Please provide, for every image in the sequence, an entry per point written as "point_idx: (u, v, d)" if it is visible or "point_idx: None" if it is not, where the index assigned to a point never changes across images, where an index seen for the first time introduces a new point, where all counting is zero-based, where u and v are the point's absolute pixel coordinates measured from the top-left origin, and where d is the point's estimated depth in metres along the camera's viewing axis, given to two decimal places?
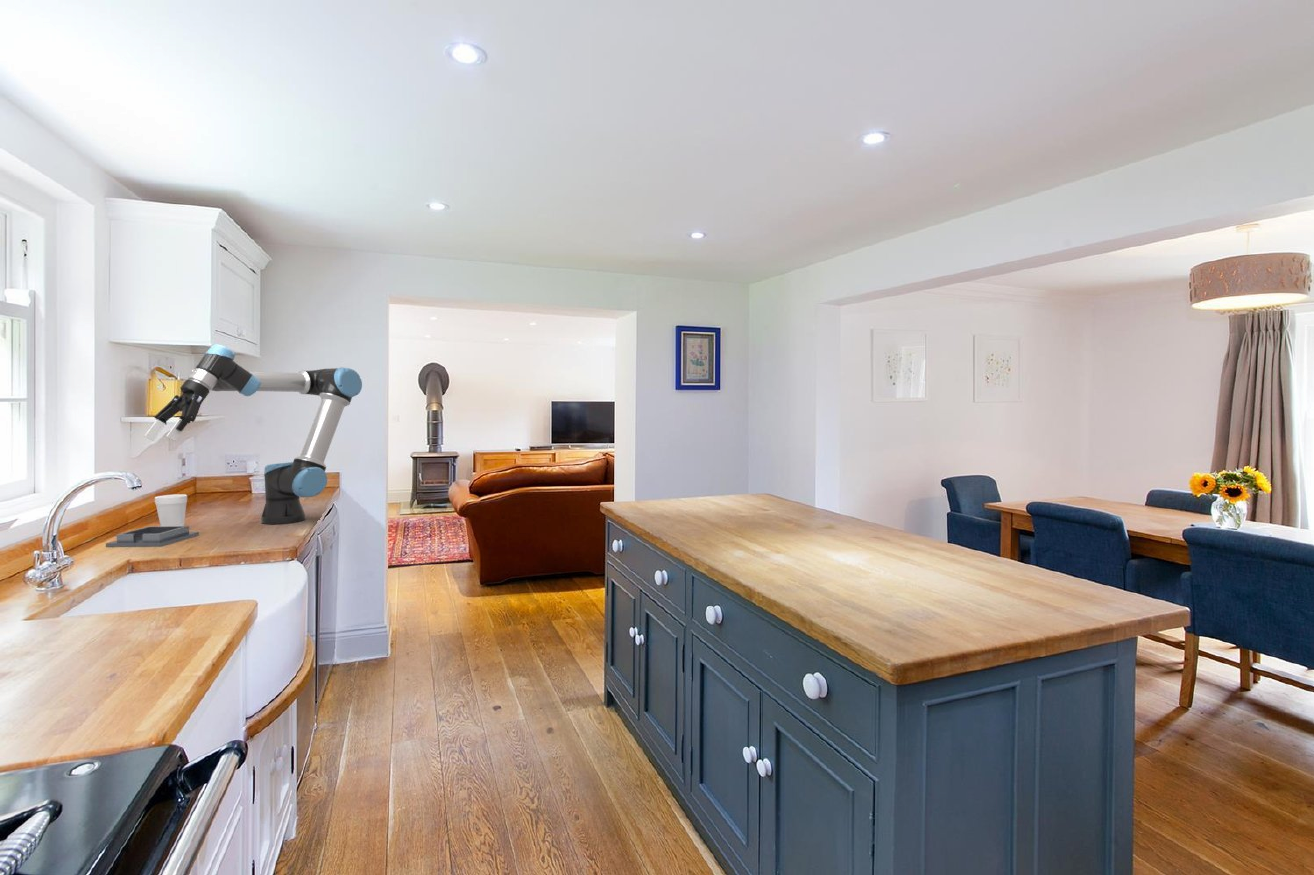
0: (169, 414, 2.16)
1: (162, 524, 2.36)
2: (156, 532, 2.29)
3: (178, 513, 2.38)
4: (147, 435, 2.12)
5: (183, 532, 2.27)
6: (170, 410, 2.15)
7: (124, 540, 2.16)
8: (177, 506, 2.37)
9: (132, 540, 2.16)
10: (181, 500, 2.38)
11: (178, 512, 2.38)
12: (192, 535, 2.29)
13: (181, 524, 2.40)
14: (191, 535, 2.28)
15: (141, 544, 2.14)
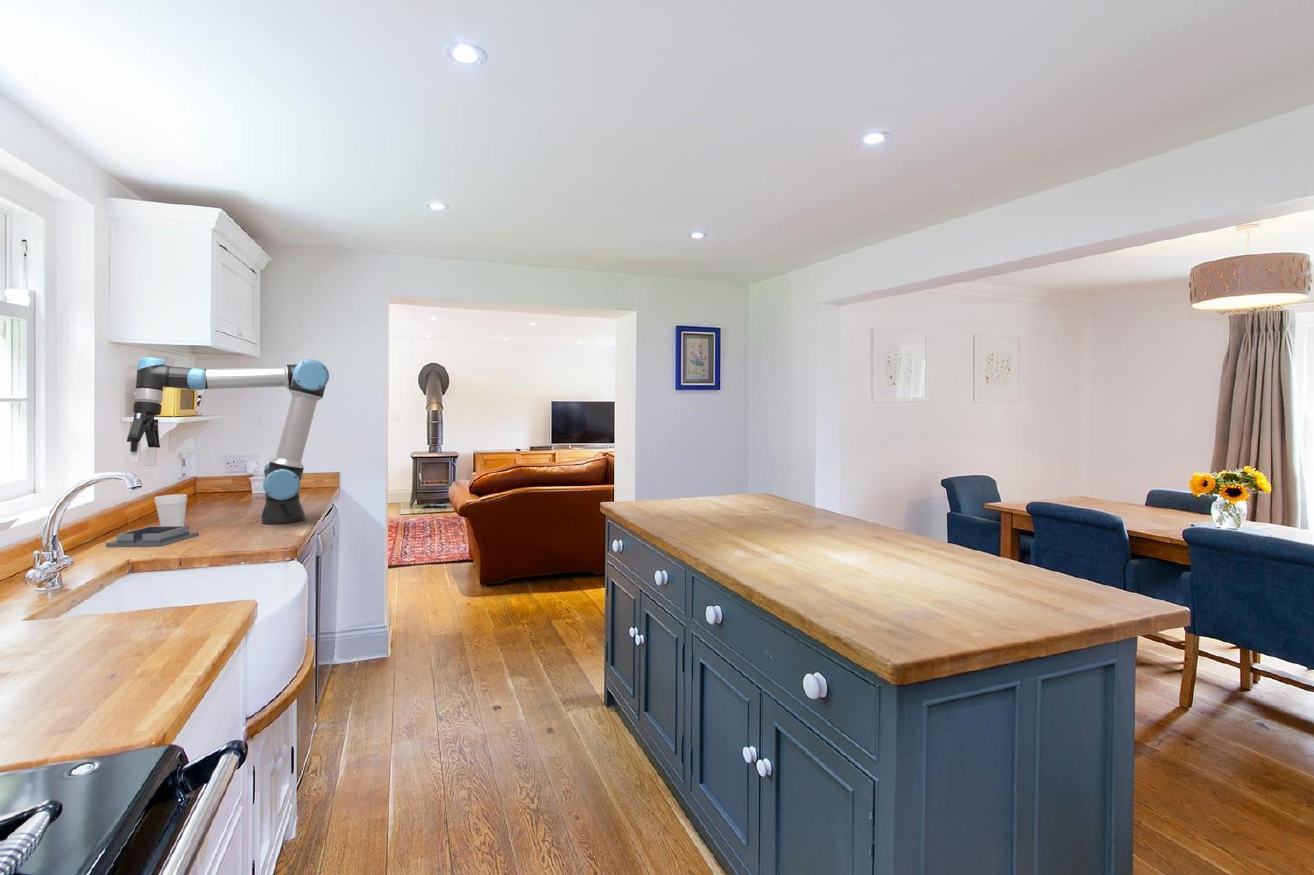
0: (150, 438, 2.27)
1: (162, 524, 2.36)
2: (156, 532, 2.29)
3: (178, 513, 2.38)
4: (146, 464, 2.27)
5: (183, 532, 2.27)
6: (147, 435, 2.26)
7: (124, 540, 2.16)
8: (177, 506, 2.37)
9: (132, 540, 2.16)
10: (181, 500, 2.38)
11: (178, 512, 2.38)
12: (192, 535, 2.29)
13: (181, 524, 2.40)
14: (191, 535, 2.28)
15: (141, 544, 2.14)
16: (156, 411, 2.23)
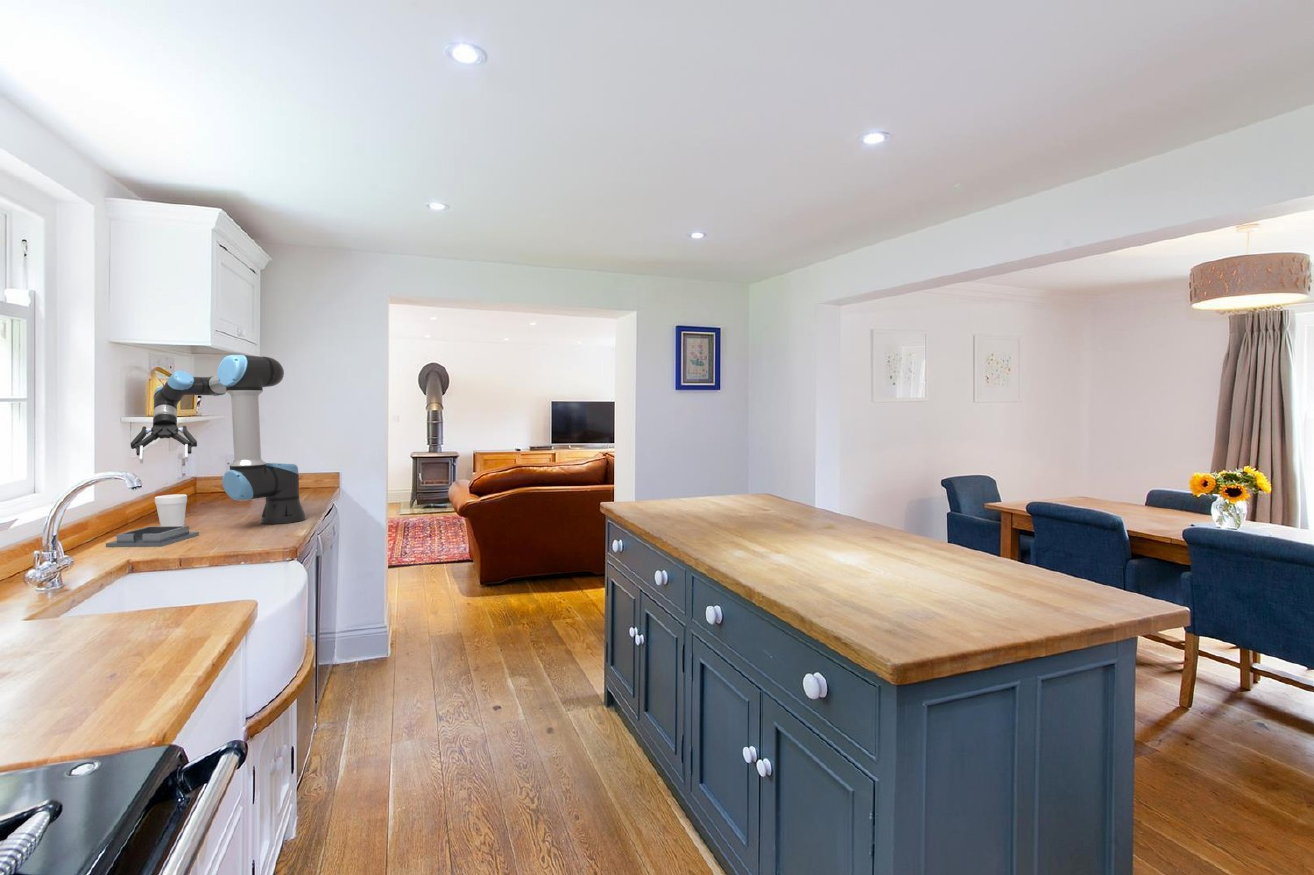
0: (180, 440, 2.53)
1: (162, 524, 2.36)
2: (156, 532, 2.29)
3: (178, 513, 2.38)
4: (185, 459, 2.49)
5: (183, 532, 2.27)
6: (178, 440, 2.53)
7: (124, 540, 2.16)
8: (177, 506, 2.37)
9: (132, 540, 2.16)
10: (181, 500, 2.38)
11: (178, 512, 2.38)
12: (192, 535, 2.29)
13: (181, 524, 2.40)
14: (191, 535, 2.28)
15: (141, 544, 2.14)
16: (158, 419, 2.52)
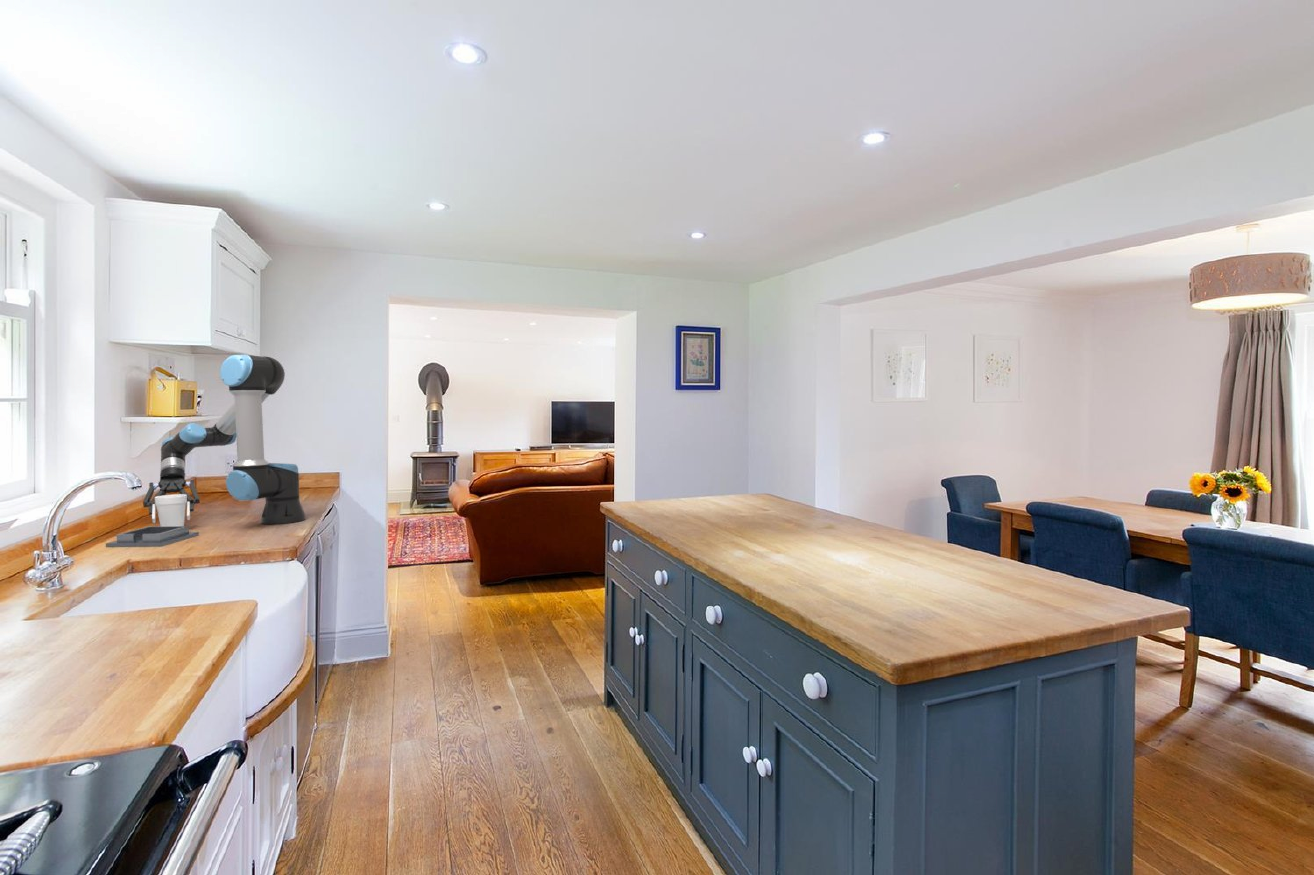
0: None
1: (162, 524, 2.36)
2: (156, 532, 2.29)
3: (178, 513, 2.38)
4: (187, 518, 2.40)
5: (183, 532, 2.27)
6: None
7: (124, 540, 2.16)
8: (177, 506, 2.37)
9: (132, 540, 2.16)
10: (181, 500, 2.38)
11: (178, 512, 2.38)
12: (192, 535, 2.29)
13: (181, 524, 2.40)
14: (191, 535, 2.28)
15: (141, 544, 2.14)
16: (165, 473, 2.45)
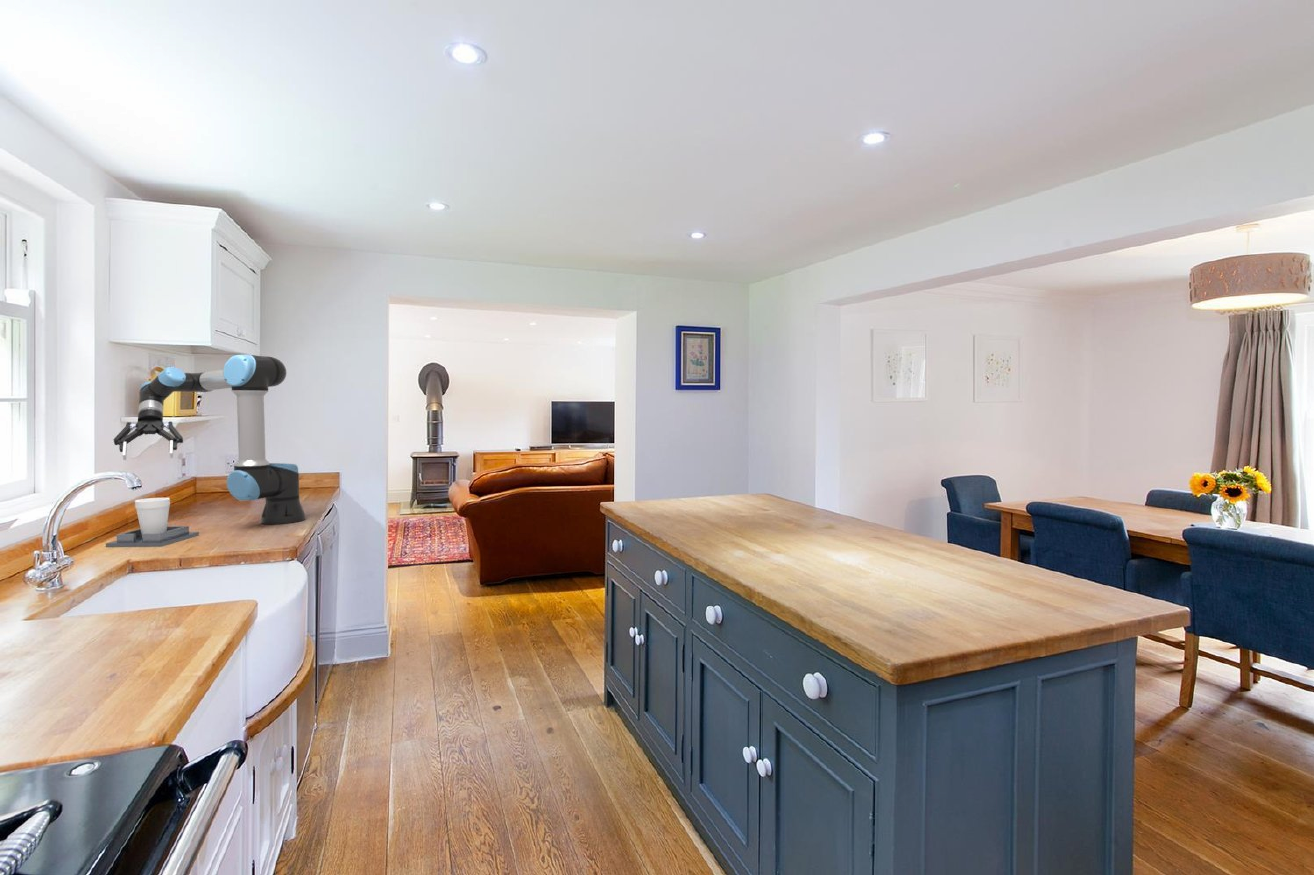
0: (166, 436, 2.45)
1: (143, 530, 2.20)
2: None
3: (160, 518, 2.21)
4: None
5: (183, 532, 2.27)
6: (163, 436, 2.46)
7: (124, 540, 2.16)
8: (158, 511, 2.20)
9: (132, 540, 2.16)
10: (163, 504, 2.21)
11: (160, 517, 2.21)
12: (192, 535, 2.29)
13: (163, 530, 2.23)
14: (191, 535, 2.28)
15: (141, 544, 2.14)
16: (143, 415, 2.44)
